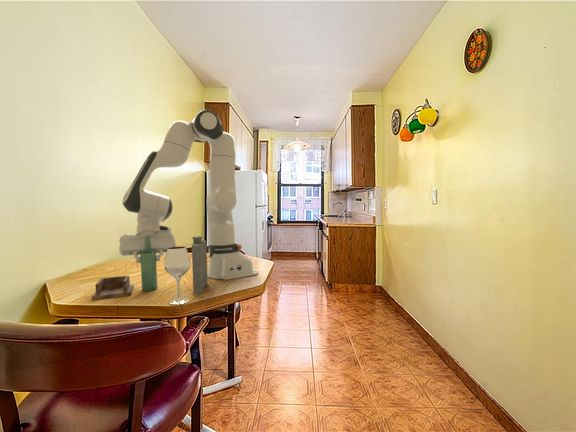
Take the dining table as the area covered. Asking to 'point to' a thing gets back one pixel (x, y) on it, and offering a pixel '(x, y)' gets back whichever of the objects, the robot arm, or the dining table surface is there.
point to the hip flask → (199, 264)
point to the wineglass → (177, 268)
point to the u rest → (113, 287)
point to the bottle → (148, 267)
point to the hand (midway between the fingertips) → (148, 261)
